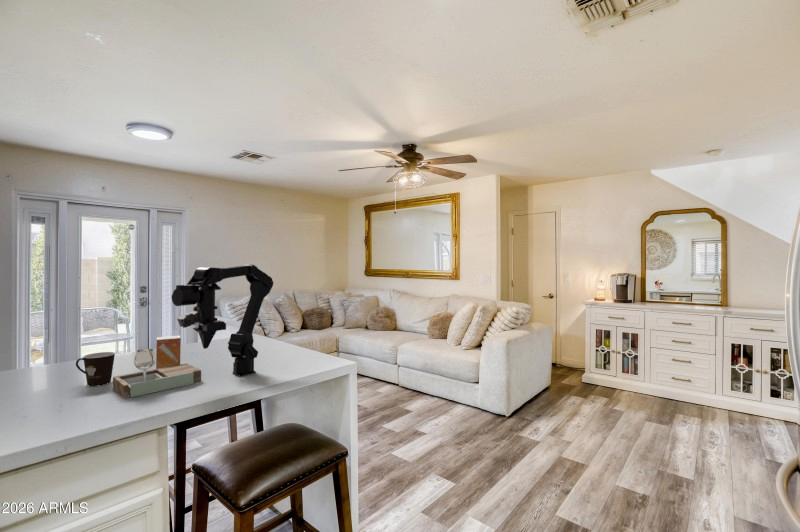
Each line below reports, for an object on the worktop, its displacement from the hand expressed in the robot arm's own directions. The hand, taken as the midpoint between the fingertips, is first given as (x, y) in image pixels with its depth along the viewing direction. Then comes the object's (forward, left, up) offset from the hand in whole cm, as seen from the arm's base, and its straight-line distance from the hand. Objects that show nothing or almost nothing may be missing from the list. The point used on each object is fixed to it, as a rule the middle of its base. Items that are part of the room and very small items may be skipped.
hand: (205, 348), depth 128 cm
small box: (+2, -30, -13) cm, 33 cm away
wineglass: (+15, -11, -12) cm, 22 cm away
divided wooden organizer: (+10, -13, -13) cm, 21 cm away
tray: (+11, -11, -13) cm, 20 cm away
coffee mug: (+24, -31, -13) cm, 41 cm away
